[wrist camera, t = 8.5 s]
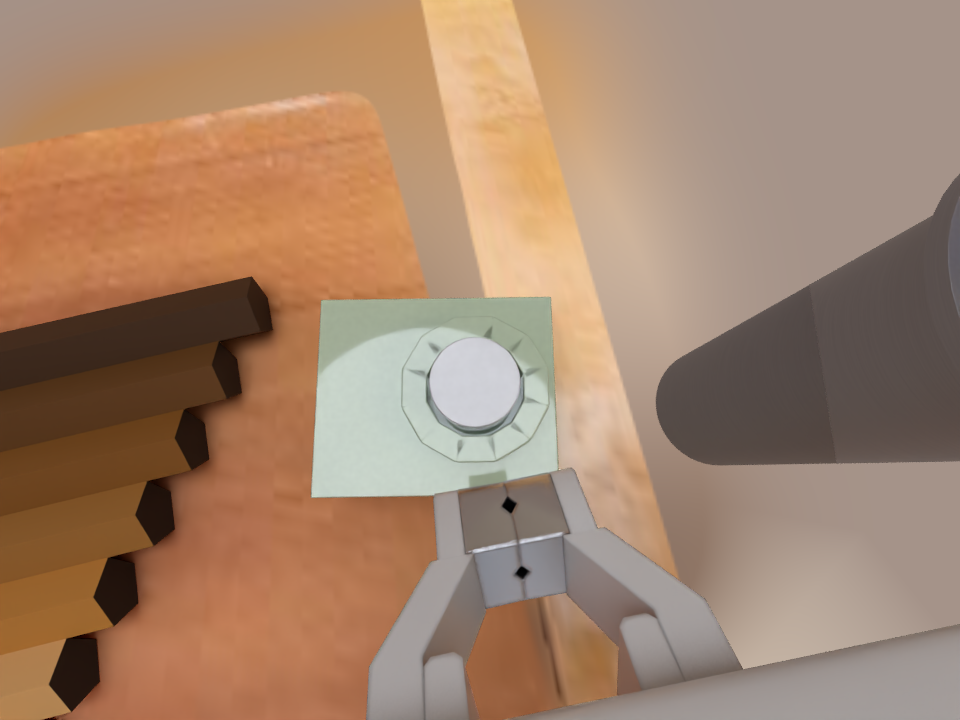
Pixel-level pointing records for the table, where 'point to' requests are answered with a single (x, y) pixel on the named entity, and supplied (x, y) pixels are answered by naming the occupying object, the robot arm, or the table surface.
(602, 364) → the table surface
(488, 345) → the grey push button
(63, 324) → the pan flute
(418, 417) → the dispenser
